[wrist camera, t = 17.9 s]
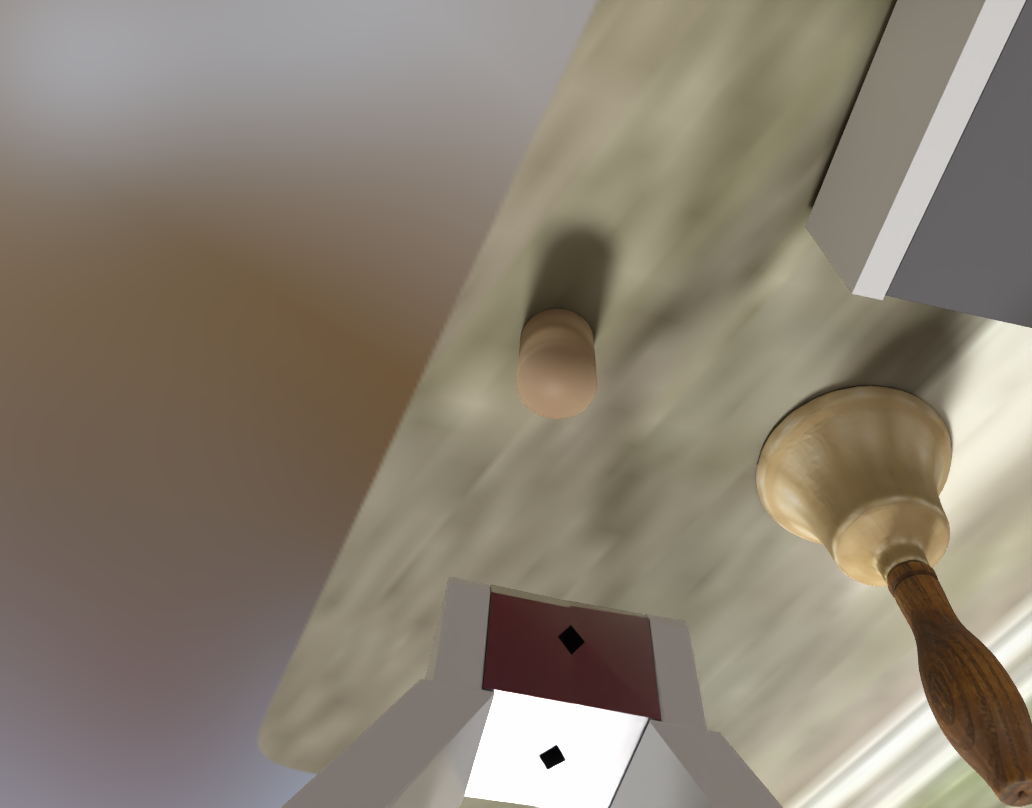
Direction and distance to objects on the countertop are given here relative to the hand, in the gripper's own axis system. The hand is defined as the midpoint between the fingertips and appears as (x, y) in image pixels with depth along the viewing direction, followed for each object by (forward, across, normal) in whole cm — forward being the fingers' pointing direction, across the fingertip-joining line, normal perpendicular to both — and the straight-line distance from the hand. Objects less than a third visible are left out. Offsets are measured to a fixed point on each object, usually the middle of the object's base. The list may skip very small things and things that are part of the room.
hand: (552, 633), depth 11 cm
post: (+24, -2, +8) cm, 25 cm away
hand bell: (+24, -16, +11) cm, 31 cm away
